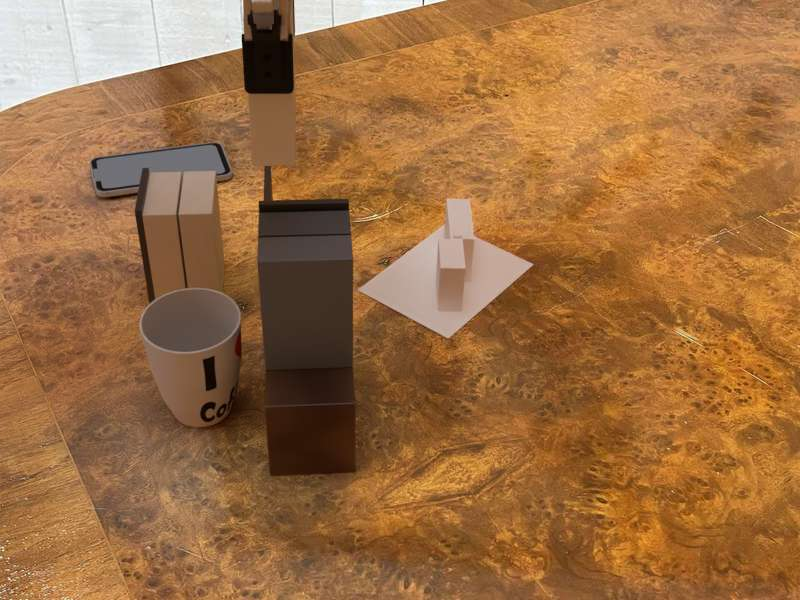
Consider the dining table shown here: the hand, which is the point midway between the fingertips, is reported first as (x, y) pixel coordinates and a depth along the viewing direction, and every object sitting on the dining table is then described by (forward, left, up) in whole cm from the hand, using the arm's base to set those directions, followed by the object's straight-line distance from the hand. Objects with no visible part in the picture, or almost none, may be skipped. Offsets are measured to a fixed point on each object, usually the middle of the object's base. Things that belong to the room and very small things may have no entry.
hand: (271, 61), depth 73 cm
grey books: (+2, -2, -24) cm, 25 cm away
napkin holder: (+16, +16, -33) cm, 39 cm away
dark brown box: (+2, -3, -32) cm, 33 cm away
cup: (-8, -1, -33) cm, 33 cm away
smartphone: (-14, +36, -32) cm, 50 cm away
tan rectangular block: (0, 0, -6) cm, 6 cm away
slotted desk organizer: (-7, +16, -32) cm, 37 cm away
